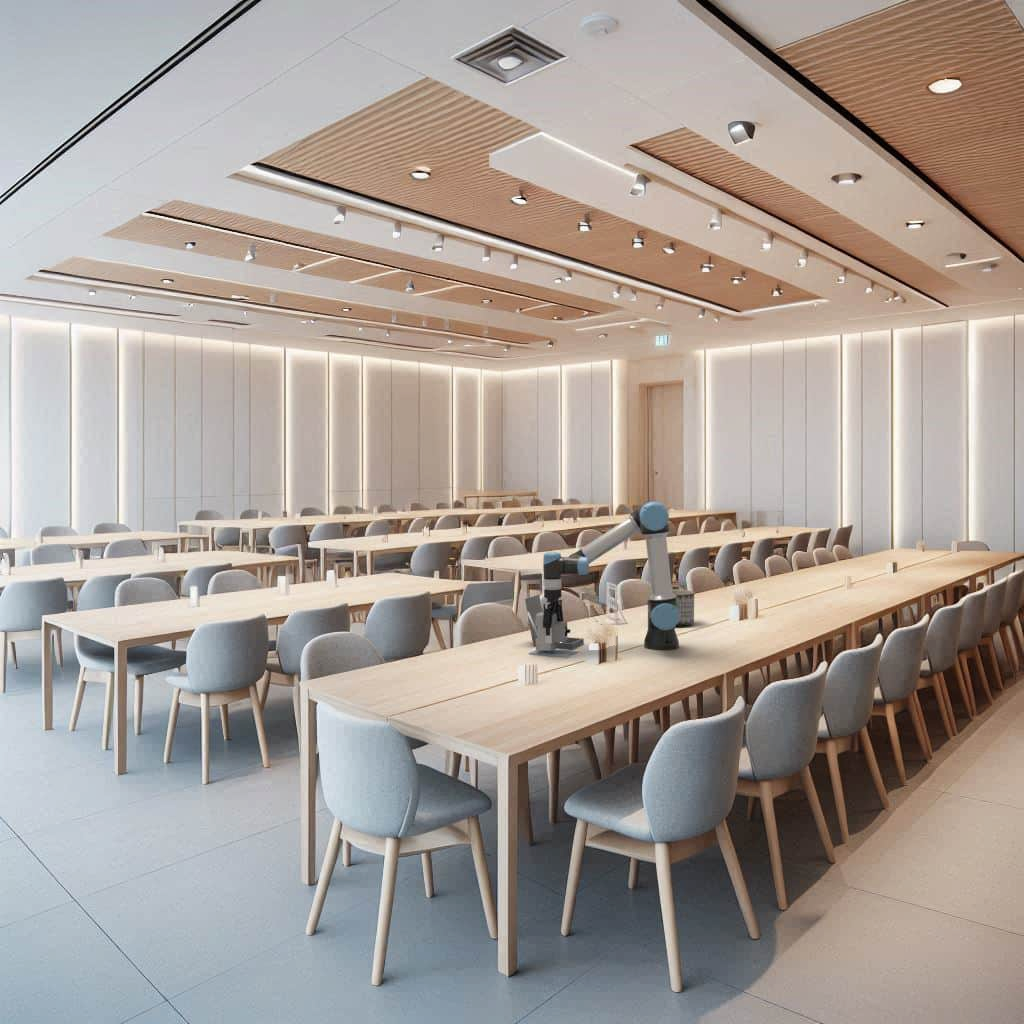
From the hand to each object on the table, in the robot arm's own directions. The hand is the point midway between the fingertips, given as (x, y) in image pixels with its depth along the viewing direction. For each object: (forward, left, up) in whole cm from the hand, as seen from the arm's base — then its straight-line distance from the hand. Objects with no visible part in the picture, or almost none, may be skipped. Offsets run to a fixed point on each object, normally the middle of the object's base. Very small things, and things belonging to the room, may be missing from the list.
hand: (553, 640), depth 366 cm
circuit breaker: (0, 0, -4) cm, 4 cm away
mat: (0, 0, -5) cm, 5 cm away
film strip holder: (+4, -78, -6) cm, 78 cm away
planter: (-28, -84, -6) cm, 89 cm away
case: (+7, -15, -5) cm, 18 cm away
